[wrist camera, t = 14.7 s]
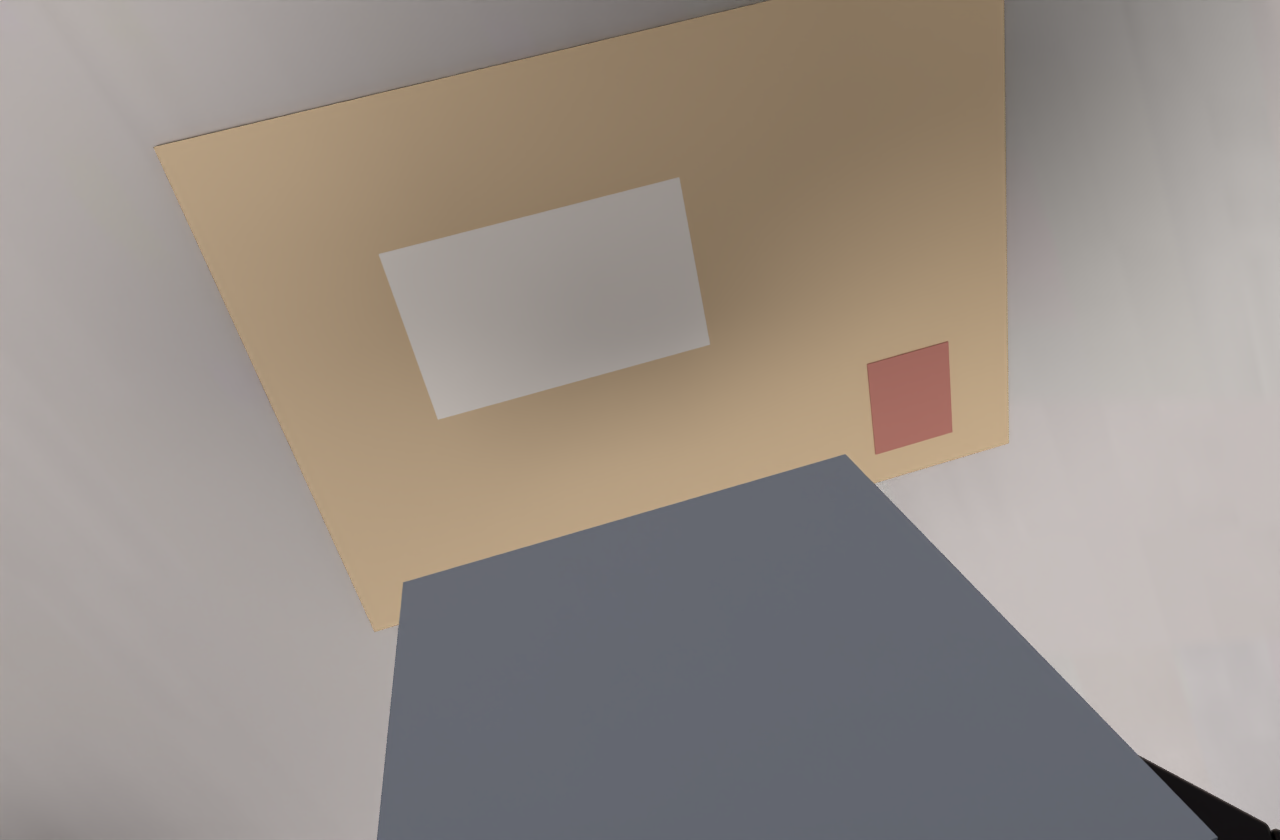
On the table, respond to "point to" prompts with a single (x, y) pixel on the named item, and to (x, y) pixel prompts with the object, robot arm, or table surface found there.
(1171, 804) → the slate-blue cube
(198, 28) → the table surface
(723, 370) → the kraft envelope
